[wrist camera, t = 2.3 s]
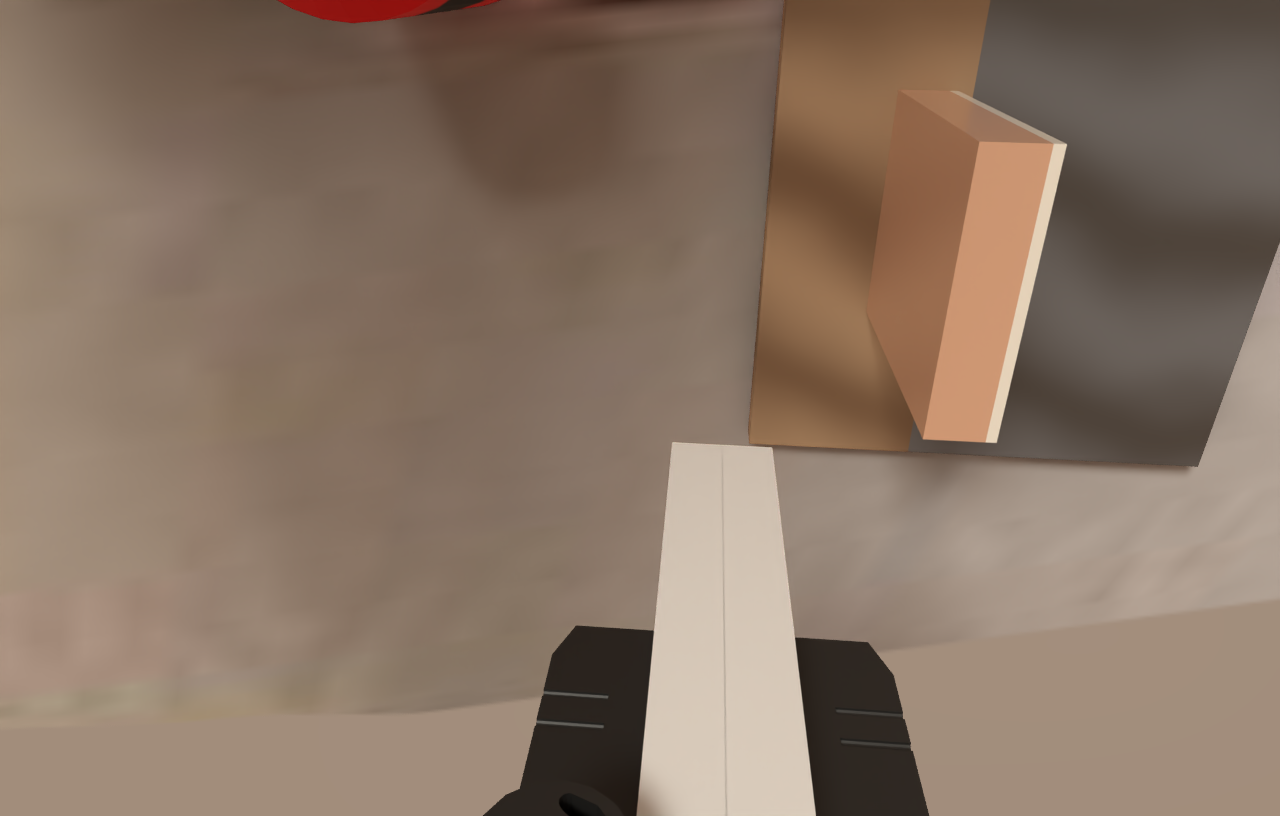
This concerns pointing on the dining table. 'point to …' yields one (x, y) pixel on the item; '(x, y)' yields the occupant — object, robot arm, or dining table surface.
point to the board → (1078, 226)
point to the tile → (959, 256)
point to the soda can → (377, 8)
